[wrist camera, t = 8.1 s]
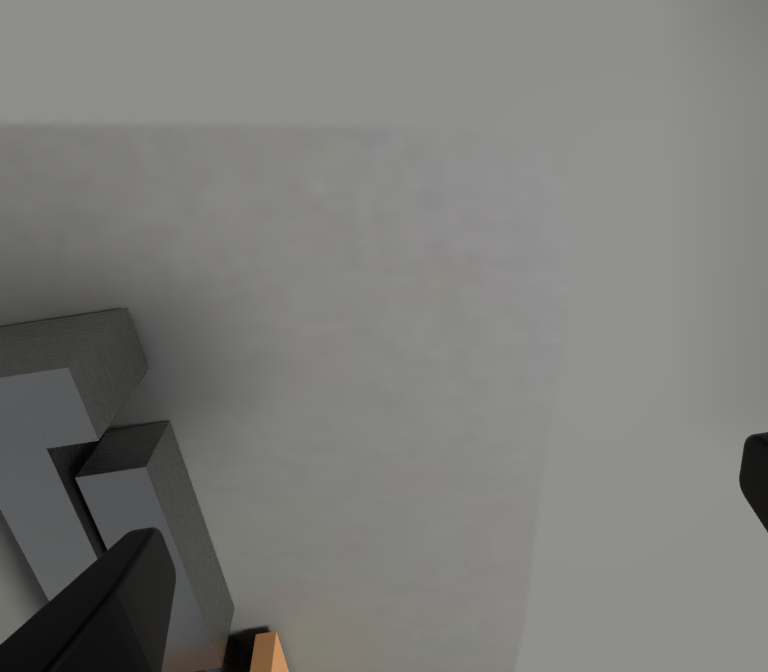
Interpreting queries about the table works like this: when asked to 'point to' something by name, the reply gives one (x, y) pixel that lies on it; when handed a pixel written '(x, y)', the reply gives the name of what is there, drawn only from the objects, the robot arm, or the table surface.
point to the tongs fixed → (181, 533)
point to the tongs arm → (60, 431)
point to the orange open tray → (268, 654)
